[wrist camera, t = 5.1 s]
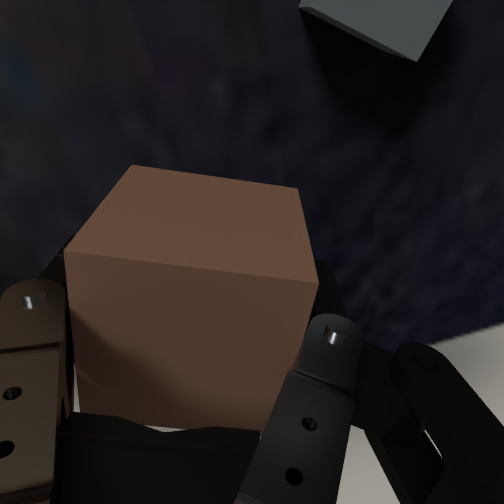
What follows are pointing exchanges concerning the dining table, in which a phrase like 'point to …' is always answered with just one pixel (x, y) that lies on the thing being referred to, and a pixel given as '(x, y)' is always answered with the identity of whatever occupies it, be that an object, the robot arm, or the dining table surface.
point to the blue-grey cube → (384, 21)
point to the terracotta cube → (189, 299)
